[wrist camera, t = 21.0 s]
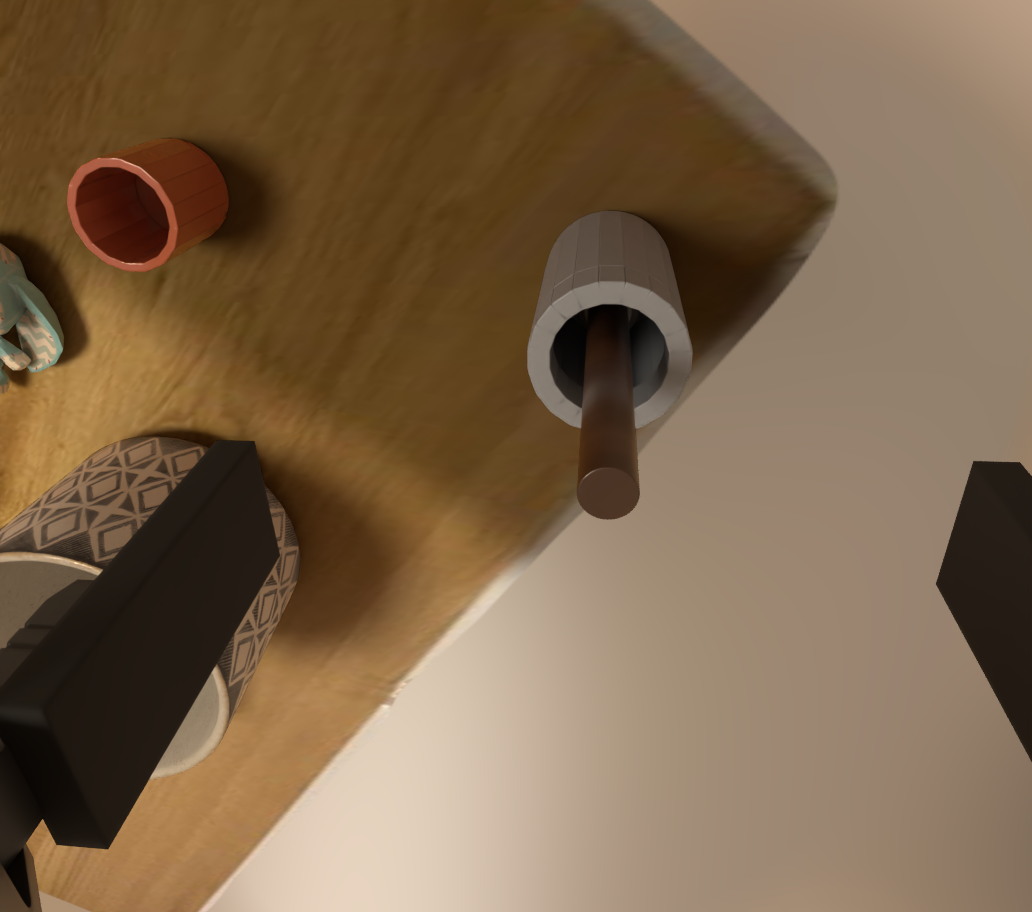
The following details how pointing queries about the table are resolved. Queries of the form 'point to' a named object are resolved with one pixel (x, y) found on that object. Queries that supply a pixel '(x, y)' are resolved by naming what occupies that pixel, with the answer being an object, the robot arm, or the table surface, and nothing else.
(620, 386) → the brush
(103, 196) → the brush cup
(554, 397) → the grey cylindrical holder
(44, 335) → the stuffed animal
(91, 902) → the table surface
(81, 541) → the planter
